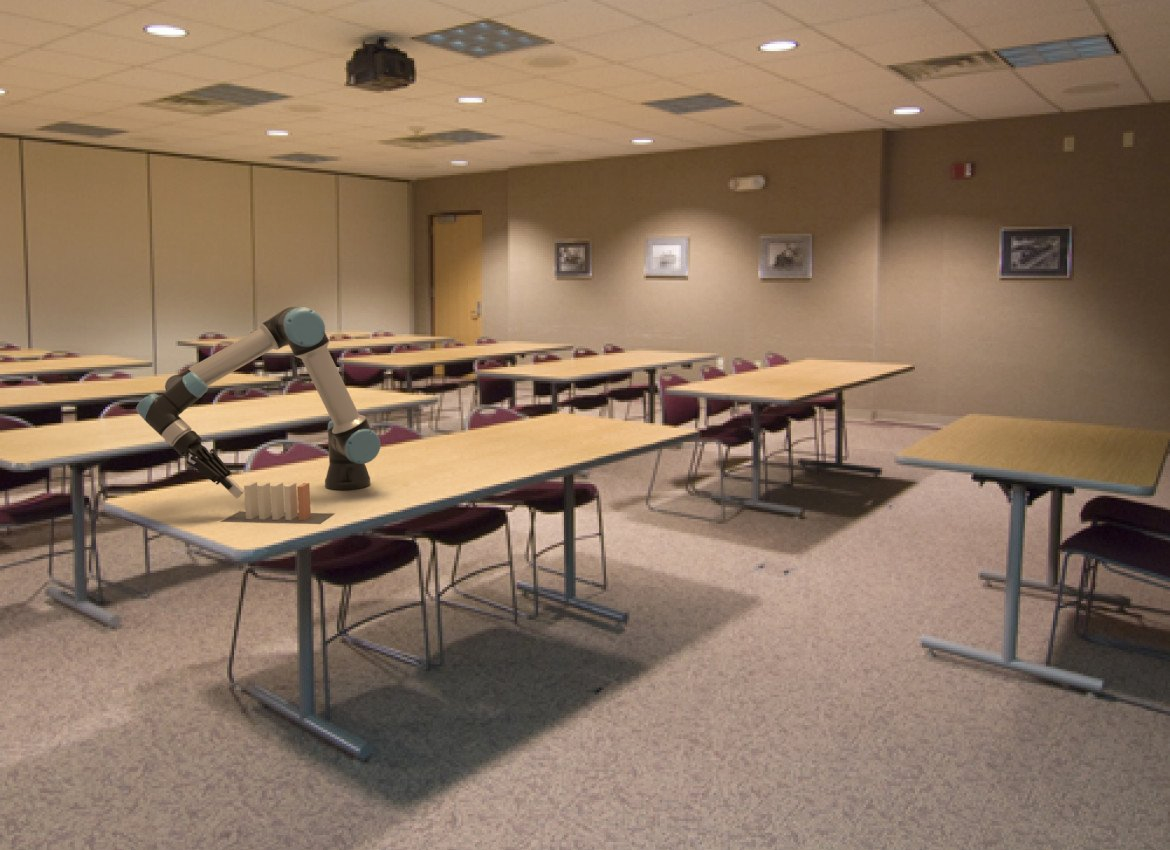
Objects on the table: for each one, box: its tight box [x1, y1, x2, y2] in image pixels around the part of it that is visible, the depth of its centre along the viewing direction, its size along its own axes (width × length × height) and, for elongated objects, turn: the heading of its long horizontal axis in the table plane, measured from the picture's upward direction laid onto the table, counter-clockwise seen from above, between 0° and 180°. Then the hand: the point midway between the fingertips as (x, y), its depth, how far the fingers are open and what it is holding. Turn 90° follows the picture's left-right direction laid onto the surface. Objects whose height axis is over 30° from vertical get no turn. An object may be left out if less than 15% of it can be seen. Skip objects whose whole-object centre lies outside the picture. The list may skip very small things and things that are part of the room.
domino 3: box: [270, 482, 285, 520], centre depth 265 cm, size 2×5×10 cm, turn 175°
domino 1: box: [243, 481, 259, 519], centre depth 266 cm, size 2×5×10 cm, turn 175°
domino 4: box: [283, 482, 299, 520], centre depth 265 cm, size 2×5×10 cm, turn 175°
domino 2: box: [257, 481, 272, 519], centre depth 266 cm, size 2×5×10 cm, turn 175°
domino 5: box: [296, 482, 312, 520], centre depth 265 cm, size 2×5×10 cm, turn 175°
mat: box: [219, 510, 336, 525], centre depth 266 cm, size 30×12×1 cm, turn 85°
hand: (240, 494), depth 266 cm, fingers closed
